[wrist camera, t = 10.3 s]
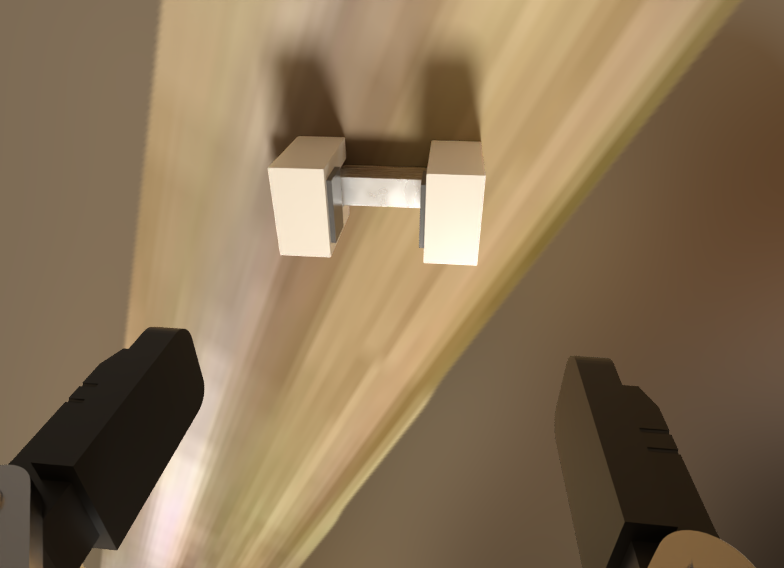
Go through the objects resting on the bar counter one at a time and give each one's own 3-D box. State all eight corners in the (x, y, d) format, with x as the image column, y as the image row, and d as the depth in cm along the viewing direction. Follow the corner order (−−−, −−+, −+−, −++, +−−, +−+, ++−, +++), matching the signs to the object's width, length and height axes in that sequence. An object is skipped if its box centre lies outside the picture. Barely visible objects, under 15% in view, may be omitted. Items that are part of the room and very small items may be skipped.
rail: (280, 162, 43) (269, 174, 41) (478, 169, 42) (479, 181, 39) (283, 189, 45) (273, 202, 42) (475, 196, 43) (477, 210, 41)
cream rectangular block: (297, 135, 42) (267, 167, 35) (349, 137, 42) (328, 169, 35) (306, 212, 46) (280, 254, 39) (353, 214, 45) (335, 257, 39)
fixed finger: (426, 140, 41) (420, 173, 34) (480, 141, 41) (485, 175, 34) (424, 218, 45) (418, 262, 38) (473, 220, 44) (476, 265, 38)
